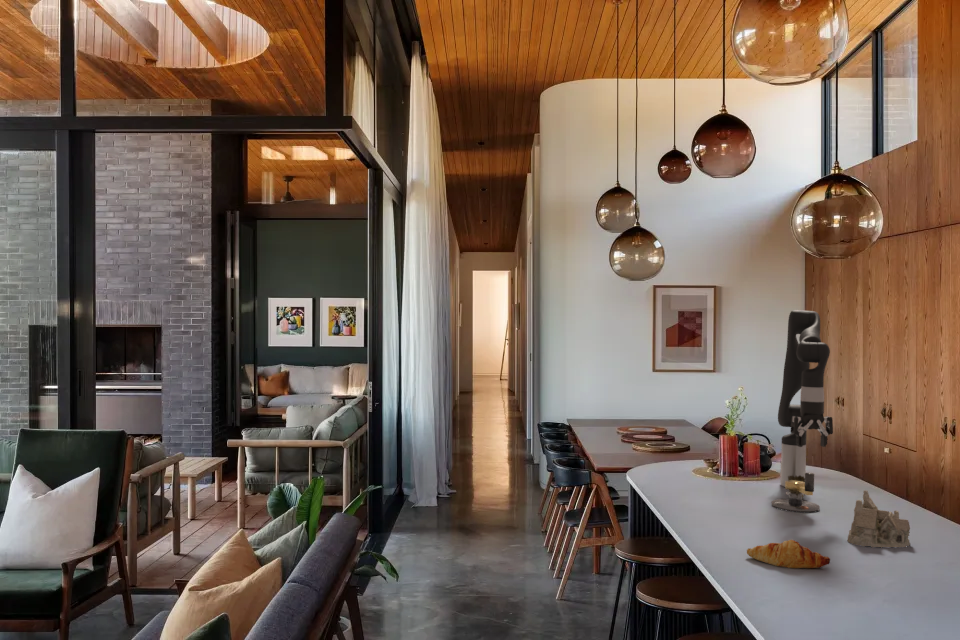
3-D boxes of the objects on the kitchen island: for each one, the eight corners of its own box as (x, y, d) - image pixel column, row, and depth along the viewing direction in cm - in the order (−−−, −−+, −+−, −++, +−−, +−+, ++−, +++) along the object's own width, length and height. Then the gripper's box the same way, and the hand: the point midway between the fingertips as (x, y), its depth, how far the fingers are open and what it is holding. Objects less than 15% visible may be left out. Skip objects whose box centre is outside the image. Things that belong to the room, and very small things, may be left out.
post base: (763, 502, 280) (763, 485, 280) (804, 501, 282) (804, 485, 282) (785, 512, 264) (786, 495, 264) (828, 512, 266) (829, 495, 266)
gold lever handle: (781, 487, 276) (782, 466, 276) (800, 487, 277) (800, 466, 277) (801, 496, 261) (801, 474, 261) (821, 496, 262) (821, 474, 262)
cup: (813, 499, 286) (813, 478, 286) (798, 500, 283) (798, 479, 283) (798, 495, 293) (798, 474, 293) (783, 496, 290) (783, 475, 290)
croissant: (745, 573, 209) (744, 551, 206) (748, 547, 217) (747, 526, 214) (830, 583, 200) (830, 561, 197) (830, 556, 208) (829, 534, 205)
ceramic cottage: (839, 540, 230) (844, 491, 229) (861, 533, 241) (866, 486, 240) (895, 556, 218) (900, 504, 218) (915, 548, 229) (920, 498, 229)
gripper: (825, 398, 268) (824, 444, 268) (787, 398, 266) (786, 444, 266) (837, 401, 260) (837, 448, 260) (798, 400, 259) (797, 448, 259)
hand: (811, 446), depth 263 cm, fingers open, 8 cm apart
